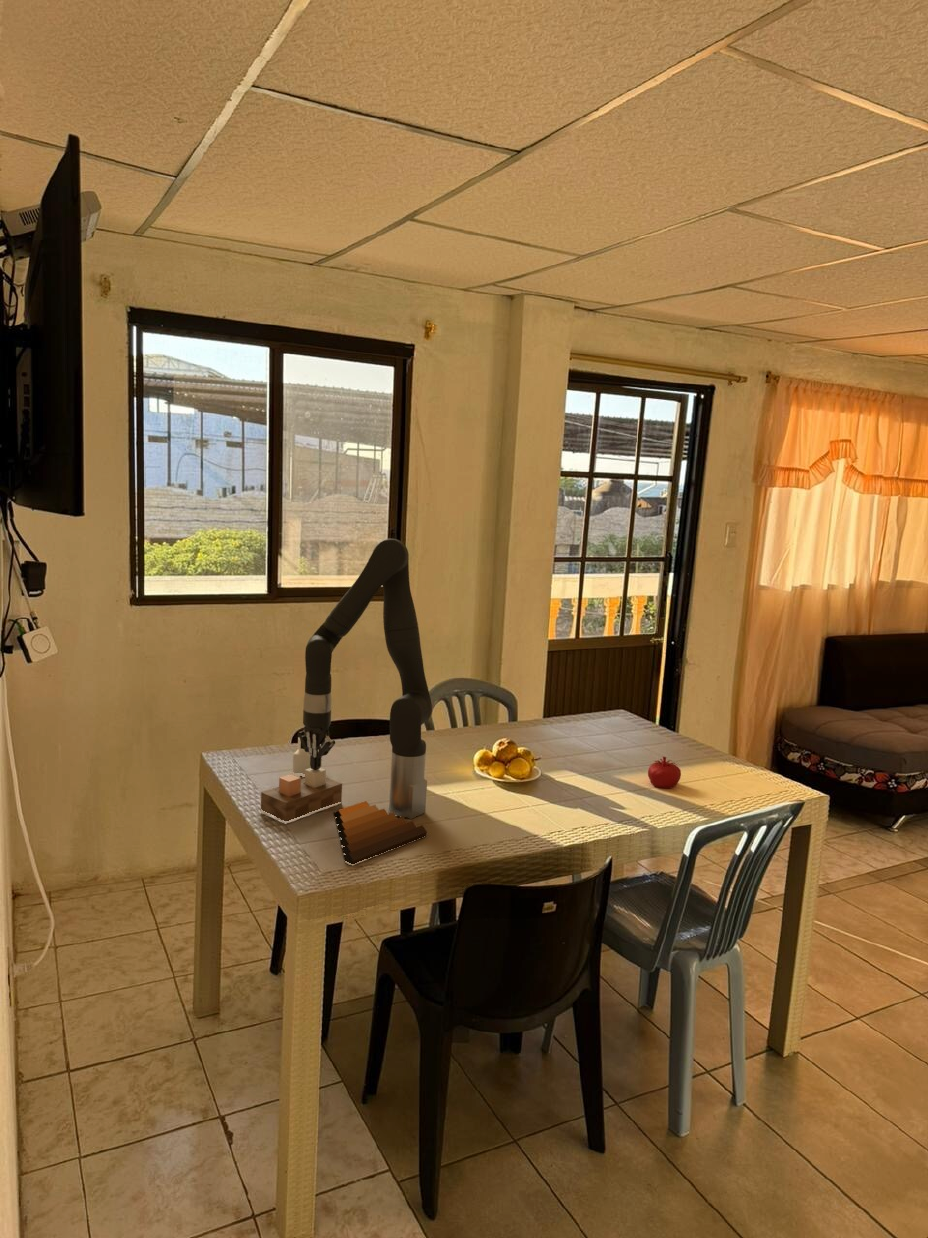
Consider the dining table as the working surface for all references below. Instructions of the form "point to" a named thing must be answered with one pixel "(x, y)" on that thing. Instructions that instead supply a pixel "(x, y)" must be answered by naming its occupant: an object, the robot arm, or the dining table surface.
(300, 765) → the medicine bottle
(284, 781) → the orange-brown rectangular block
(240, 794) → the dining table surface
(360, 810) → the pan flute
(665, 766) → the pomegranate
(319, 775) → the beige rectangular block
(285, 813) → the board
